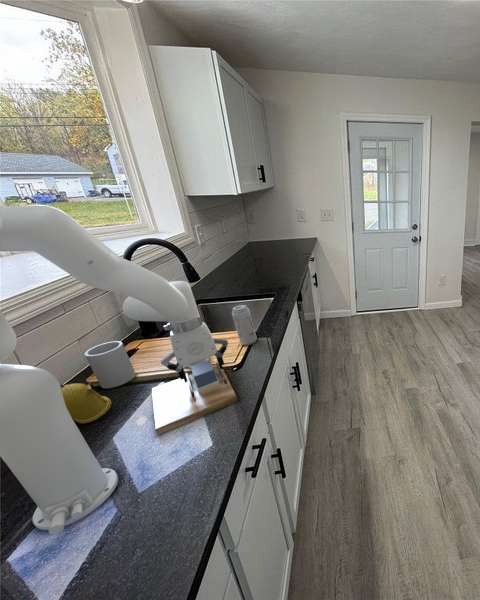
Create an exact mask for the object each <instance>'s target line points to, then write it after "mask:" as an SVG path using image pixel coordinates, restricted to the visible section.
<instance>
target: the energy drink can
mask: <svg viewBox="0 0 480 600" xmlns="http://www.w3.org/2000/svg"><path fill="white" fill-rule="evenodd" d="M231 316H232V319H233V323H234V325H235V326H234V327H235V330H236V333H237V337H238V339H239V343H240V344H241V345H243V346H250V345H254V344H255V343H256V341H257V338H258V337H257V334H256V330H255V326H254V322H253V319H252V314H251V311H250V308H249V307H248V306H247V305H246V304H238V305H236V306H233V307H232V311H231Z"/></svg>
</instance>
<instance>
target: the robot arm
mask: <svg viewBox="0 0 480 600" xmlns="http://www.w3.org/2000/svg"><path fill="white" fill-rule="evenodd" d="M0 252H34V253H36V254H38V255H39V256H41V257H42V258H43V259H45V260H47V261H48V262H50V263H52V264H53V265H55V266H56V267H58V268H59V269H61V270H62V271H64V272H66V273H67V274H69V275H70V276H72V277H73V278H74V279H76V280H77V281H79V282H80V283H82V284H84V285H86V286H89V287H92V288H96V289H99V290H102V291H106V292H111V293H115V294H120V295H124V296H128V297H127V298H125V300H124V301H123V303H122V311H123V312H122V313H123V314H124V315H125V316H126V317H127V318H129V319H130V320H133V321H137V322H166V323H167V322H168V323H167V324H166V325H163V329H164V331H169V340H170V344H171V347H172V351H171V352H170V353H168V354H167V355H166V356H165V357H163V358H162V359H161V360H160V363H161V365H163V366H164V367H166V368H167V369H168V370H170V371H174V372H176V373H177V374H178V376H179V379H181V380H183V379H184V381H185V383H186V382H187V377H186V374H185V373H186V372H185V369H184V366H186V365H188V364H191V363H194V362H197V361H200V360H203V359H206V358H208V359H209V358H211V357H214V356H215V358H216V361H217V362H218V364H219V367H220V369H223V370H224V366H225V361H224V359H223V356H224V354H225V353H226V351H227V347H228V344H229V340H228V339H226V338H224V339H223V338H216V337H215V338H214V337H213V335H212V333H211V331H210V329H209V327H208V325H207V324H206V322H204V321H202V318H201V314H200V312H199V308H198V305H197V302H196V299H195V297H194V294H193V291H192V287H191V285H190V283H189V282H187V281H185V280H173V281H169V280H167V279H166V278H164V277H163V276H161V275H160V274H158V273H156V272H154V271H153V270H149V269H148V268H146V267H143V266H141V265H139V264H137V263H135V262H133V261H131V260H128V259H126V258H124V257H122V256H120V255H119V254H117V253H116V252H115V251H113V249H111V248H110V247H109V246H108V245H106V244H105V243H104V242H103V241H101V240H100V239H99V238H98V237H96V236H95V235H94V234H92V232H90V231H89V230H88V229H86V228H85V227H84V226H83V225H81V223H79V222H78V221H77V220H75V219H74V218H73V217H71V216H70V215H69V214H67V213H66V212H65V211H63V210H61V209H59V208H57V207H54V206H51V205H46V204H45V205H44V204H25V205H7V206H4V205H0ZM171 330H172V331H171ZM17 345H18V339H17V335H16V332H15V331H14V329H13V327H12V325H11V324H10V323H9V320H8V319H7V318H6V316H5V315H4V313H3V312H2V310H1V309H0V458H1V459H2V461H3V462H4V463H5V464H6V466H7V467H8V468H9V470H10V471H11V472H12V474H13V475H14V476H15V478H16V479H17V481H18V482H19V483H20V485H21V486H22V487H23V489H24V490H25V492H26V493H27V494H28V495H29V497H30V498H31V499H32V501H33V502H34V503H35V505H36V506H37V507H36V508H35V511H34V512H33V514H32V519H31V520H32V523H33V525H34V526H35V527H36V528H37V529H38V530H41V531H48V532H47V533H48V535H51V536H54V535H58V534H60V533H62V532H63V531H64V529H65V527H66V526H69V525H71V524H73V523H75V522H78V521H80V520H81V519H83V518H85V517H86V516H87V515H90V514H91V513H92V512H94V511H95V510H96V509H98V508H99V507H100V506H101V505H102V504H104V503H105V501H106V500H107V499H108V498H109V497H111V495H112V493H113V492H114V491H115V489H116V487H118V483H119V476H118V473H117V472H116V470H115V469H112V468H108V467H102V466H101V465H100V463H99V462H98V459H97V458H96V456H95V455H94V452H93V451H92V450H91V448H90V446H89V445H88V443H87V441H86V439H85V438H84V436H83V434H82V433H81V431H80V429H79V427H78V426H77V425H76V423H75V421H74V418H72V417H71V416H70V414H69V412H68V410H67V407H66V405H65V402H64V399H63V395H62V390H61V387H60V385H61V384H60V382H59V381H58V379H57V378H56V376H55V375H54V374H52V373H51V372H49V371H48V370H45V369H43V368H41V367H38V366H33V365H27V364H14V363H13V364H11V363H9V364H8V363H1V362H4V361H5V360H7V359H8V358H9V357H10V356H11V355H13V353H14V352H15V350H16V348H17ZM217 345H221V346H220V348H219V349H217ZM174 358H175V360H176V363H172V362H171V360H173V359H174ZM223 365H224V366H223Z"/></svg>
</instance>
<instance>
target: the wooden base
mask: <svg viewBox="0 0 480 600" xmlns="http://www.w3.org/2000/svg"><path fill="white" fill-rule="evenodd" d="M212 367H213V369H214V372H215V374H216V377H217V379H218V381H219V384H220V385H218V386H215V387H213V388H210V389H208V390H205V391H203V392H200V393H199V392H198V390H197V387H196V383H195V380H194V377H193V374H192V373H191V374H189V372H185V374H186V377H187V382H186V383H185V381H184V379H183V380H181V379H180V378H177V379H174V380H172V381H169V382H166V383H163V384H160V385H157V386H155V387H152V388H151V397H152V398H151V399H152V409H153V418H154V419H153V420H154V429H155V431H156V435H157V436H160V435H162V434H165V433H167V432H169V431H171V430H174V429H176V428H178V427H181V426H183V425H185V424H188V423H189V422H192V421H195V420H197V419H199V418H201V417H204V416H207V415H208V414H211V413H213V412H215V411H218V410H220V409H222V408H225V407H227V406H230V405H231V404H232V405H233V404H234V403H236V402H238V397H237V394H236V393H235V391H234V389H233V387H232V385H231V383H230V380H229V378H228V376H227V374H226V373H225V370H224V368H223V369H220V367H219V364H218V361H217V362H215V365H212Z"/></svg>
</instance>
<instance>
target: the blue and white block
mask: <svg viewBox="0 0 480 600" xmlns="http://www.w3.org/2000/svg"><path fill="white" fill-rule="evenodd" d="M190 370H191V374H193V377H194V380H195V383H196V387H197V390H198V392H199V393H200V392H203V391H205V390H208V389H210V388H213V387H215V386H218V385H220V384H219V381H218V379H217V377H216V374H215V372H214V369H213V364H212V363H211V360H210V359H209V360H208V361H206V362H203V363H200V364H197V365H194V366H191V368H190Z"/></svg>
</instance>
